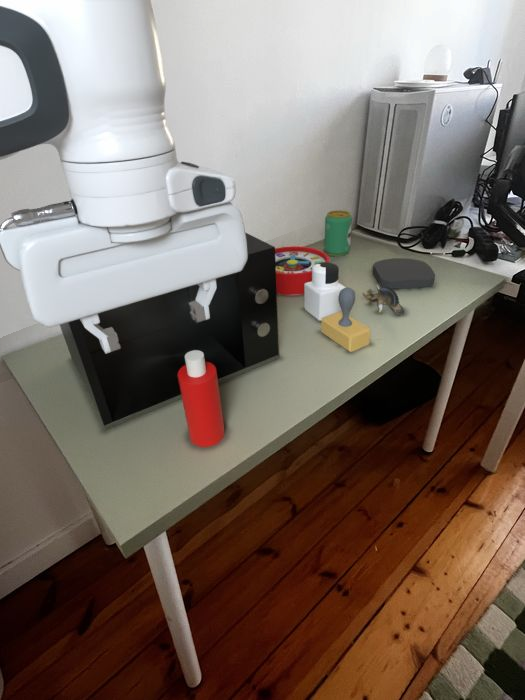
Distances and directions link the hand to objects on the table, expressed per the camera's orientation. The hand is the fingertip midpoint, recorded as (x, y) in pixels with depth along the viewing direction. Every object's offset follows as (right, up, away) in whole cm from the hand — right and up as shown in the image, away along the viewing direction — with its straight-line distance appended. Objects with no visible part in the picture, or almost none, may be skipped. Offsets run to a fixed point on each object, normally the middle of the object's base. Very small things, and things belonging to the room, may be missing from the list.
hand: (158, 333), depth 43 cm
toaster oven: (-8, -4, +48) cm, 49 cm away
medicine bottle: (+25, +7, +62) cm, 67 cm away
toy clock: (+19, +18, +78) cm, 82 cm away
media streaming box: (+49, +18, +75) cm, 92 cm away
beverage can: (+34, +29, +94) cm, 104 cm away
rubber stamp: (+28, +1, +51) cm, 59 cm away
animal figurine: (+40, +8, +61) cm, 73 cm away
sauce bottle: (+1, -16, +29) cm, 33 cm away
